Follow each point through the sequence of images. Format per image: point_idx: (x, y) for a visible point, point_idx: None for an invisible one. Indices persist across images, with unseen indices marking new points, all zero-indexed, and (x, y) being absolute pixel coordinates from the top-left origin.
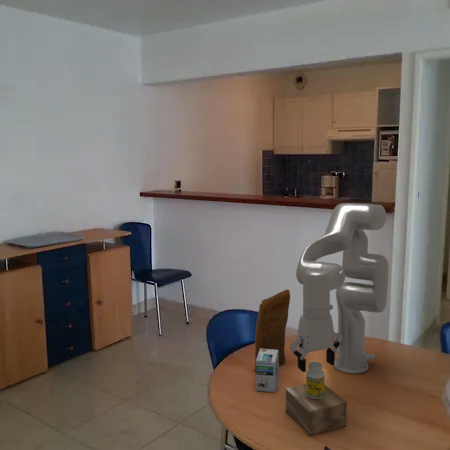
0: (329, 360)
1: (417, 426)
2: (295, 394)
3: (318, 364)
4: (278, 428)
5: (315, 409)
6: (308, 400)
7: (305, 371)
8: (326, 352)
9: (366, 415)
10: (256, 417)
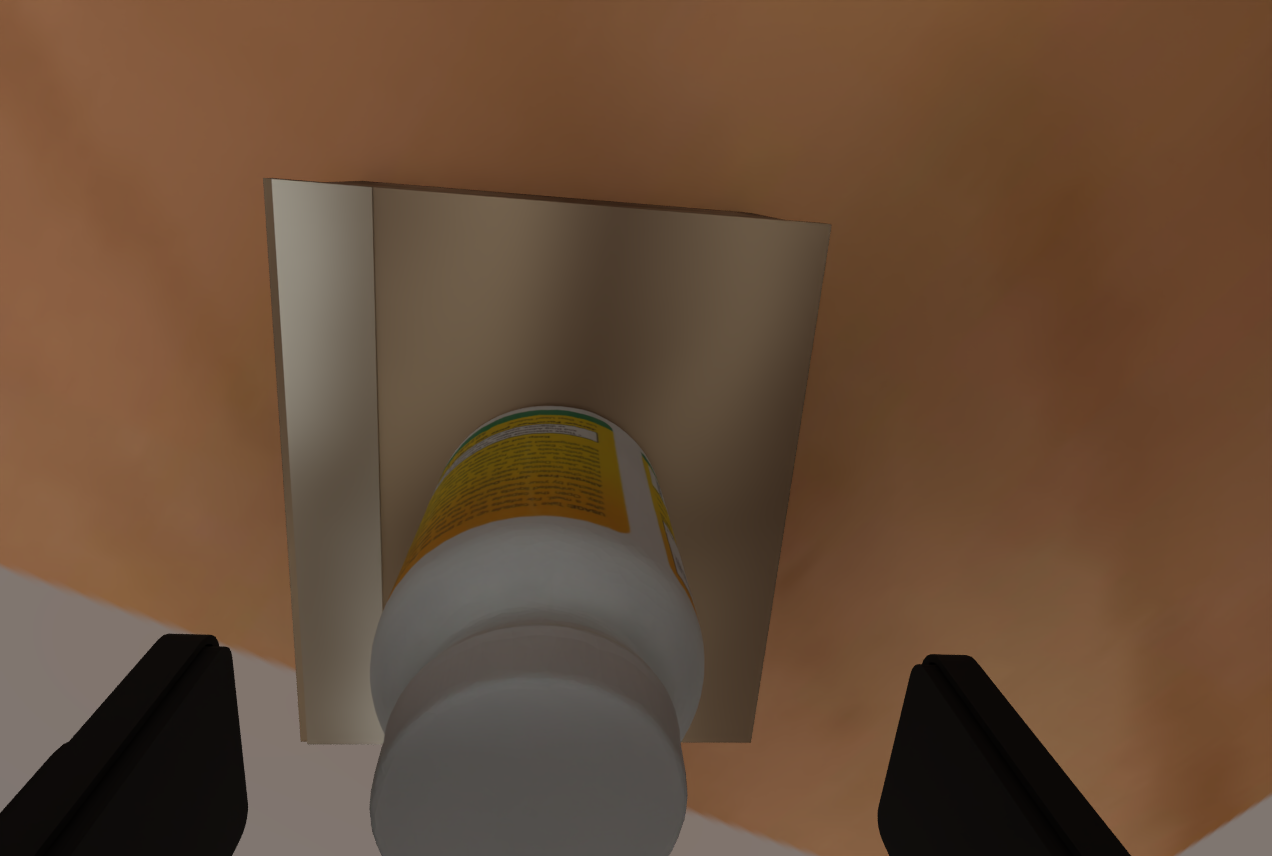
0: (923, 807)
1: (1100, 768)
2: (323, 391)
3: (596, 839)
4: (166, 394)
5: (371, 740)
6: None
7: (243, 816)
8: (1036, 835)
9: (944, 544)
10: (14, 123)
